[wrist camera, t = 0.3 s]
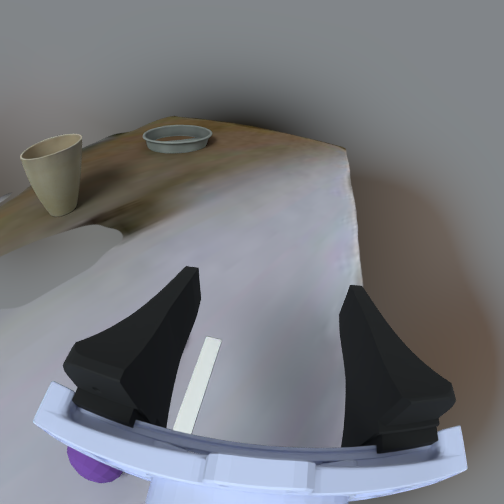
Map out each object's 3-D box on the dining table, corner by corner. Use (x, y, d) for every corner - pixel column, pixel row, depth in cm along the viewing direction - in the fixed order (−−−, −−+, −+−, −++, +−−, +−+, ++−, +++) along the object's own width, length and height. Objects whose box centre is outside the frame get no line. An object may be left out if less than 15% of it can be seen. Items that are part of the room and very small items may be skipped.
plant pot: (27, 215, 50) (12, 155, 41) (71, 188, 61) (62, 132, 51) (53, 234, 46) (34, 162, 37) (103, 202, 57) (94, 136, 47)
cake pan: (224, 142, 97) (225, 131, 95) (180, 161, 80) (180, 147, 77) (175, 131, 105) (175, 121, 102) (129, 148, 87) (128, 136, 84)
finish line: (158, 533, 14) (158, 533, 14) (139, 526, 15) (139, 526, 15) (221, 340, 35) (221, 340, 35) (206, 336, 35) (206, 336, 35)
